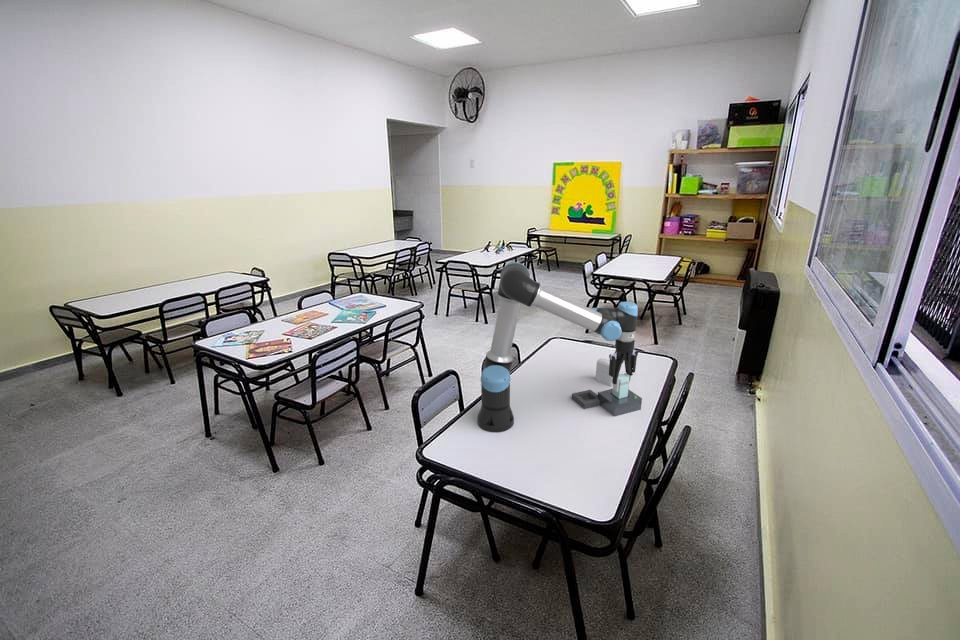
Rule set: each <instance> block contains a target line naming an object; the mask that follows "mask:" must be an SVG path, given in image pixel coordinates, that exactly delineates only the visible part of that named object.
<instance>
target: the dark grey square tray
mask: <svg viewBox="0 0 960 640" xmlns="http://www.w3.org/2000/svg"><path fill="white" fill-rule="evenodd" d="M597 396H598V393H596V392H594V391H593V390H592V389H587V390H581V391H578V392H573V393H571V400H572V401H574V402H575V403H576V404H577V405H578V406H580V407H581V408H582V409H583V410H588V409H591V408H596V407H599V406H600V400H599V399H598V398H597ZM600 407H601V406H600Z"/></svg>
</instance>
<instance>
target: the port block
mask: <svg viewBox="0 0 960 640" xmlns="http://www.w3.org/2000/svg"><path fill="white" fill-rule="evenodd" d="M612 392H613V388H610V389H607V390H602V391H598V392H597V395H598V396H597V398H598V399H599V400H600V407H601V408H602V409H603V410H605V411H607V413H609V414H610V415H611V416H612V417H614V418H615V417H618V416H622V415H625V414H629V413H633V412H637V411H640V410H642V401H643V398H642V397H641V396H639V395H638V394H637V393H635V392H633V391H631V390H630V389H629V388H628V397H625V398H621V399H618V398H617V397H616V396H614V395H613V394H612Z"/></svg>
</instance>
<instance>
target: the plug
mask: <svg viewBox="0 0 960 640" xmlns="http://www.w3.org/2000/svg"><path fill="white" fill-rule="evenodd" d="M618 377H619V389H618V392H616V391H615V390H613V392H612V394H613V395H614V396H616V397H617V398H618V399H621V398H625V397H628V389H629V388H630V387H629V386H630V381H629V377H627V376H625V375H624V373H619V375H618Z"/></svg>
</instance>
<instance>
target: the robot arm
mask: <svg viewBox="0 0 960 640" xmlns="http://www.w3.org/2000/svg"><path fill="white" fill-rule="evenodd" d="M499 276H500V278H499V279H500V280H499V283H498V289H497V290H498V291H497V295H498V297H499V303H498V311H497V313H496V320H495V325H494V330H493V336H492V340H491V344H490V345H491V347H490V350H488V351H487V352H486V354H485V359H484V362H483V365H482V372H481V374H480V387H481V388H480V389H481V393H480V394H481V406H480V410H479V413H478V416H477V424H478V426H479V427H480V428H481V429H482V430H484V431H487V432H490V433H501V432H505V431H508V430H509V429H511V428H512V427H513V426H514V424H515V417H514V416H515V415H514V414H513V410H512V408H511V370H512V369H511V368H512V365H513V360H514V358H513V355H511V353H512V348H513V347H512V346H513V343H514V342H513V341H514V338H515V332H516V329H517V325H518V318H519V315H520V314H519V313H520V309H521V304H522V305H524V306H526V307H529V308H531V307H535V308H538V309H540V310H542V311H545V312H547V313H549V314H552V315H554V316H556V317H559V318H561V319H563V320H566V321H568V322H570V323H573V324H575V325H577V326H579V327H581V328H584V329H586V330H589V331H591V332H592V333H596V334H597V335H599V336H601V337H602V338H603V339H604V340H605V341H608V342H615V343H614V344H615V345H614V347H615V351H614V353H613V354H609V355H608V357H609V360H610V365H609V375H610V376H611V377H613V379H612V383H613V386H612V389H613V390H615V391H616V392H618V389H619V377H618V375H619V374H620V371H621V368H622V366H623V365H622V364H624V369H625V372H623V374H624V375H625V376H627V377H629V382H631V377H632V376H633V374H634V373H636V369H637V368H636V367H637V357H638V355H639V351H638V350H635V341H636V340H635V339H636V334H637V333H636V331H637V321H638V316H639V315H638V313H639V309H638V308H639V307H638V305H637V303H635V302H633V301H632V302H631V301H620V302H619V303H618V306H617V307H592V308H590V307H587V306H585V305H583V304H580V303H578V302H577V301H573V300H571V299H569V298H568V297H565V296H562V295H560V294H557V293H555V292H554V291H551V290H549V289H548V288H547V289H546V288H545V287H542V284H541V283H540V282H538V281H535V280H534V279H532V278H531V276H530V271H529V269H528V268H527V266H525V265H524V264H523V263H521V262H518V261H516V262H515V261H514V262H513V261H512V262H509V263H507V264H506V265H505V266H503V268H502V269H501V271H500V275H499Z"/></svg>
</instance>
